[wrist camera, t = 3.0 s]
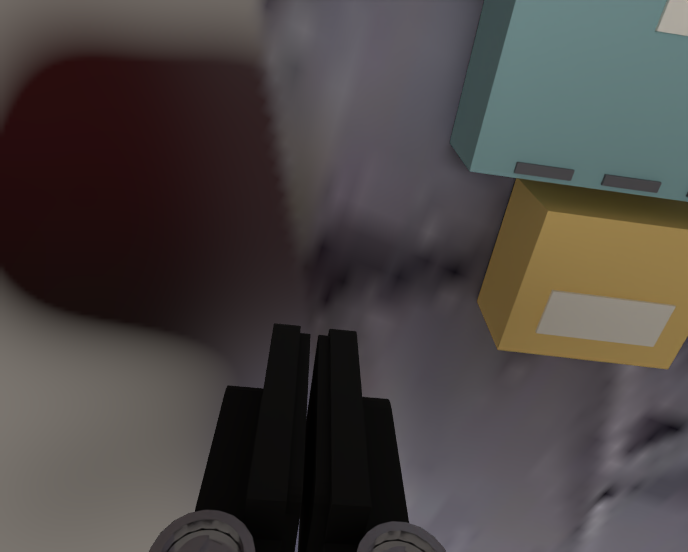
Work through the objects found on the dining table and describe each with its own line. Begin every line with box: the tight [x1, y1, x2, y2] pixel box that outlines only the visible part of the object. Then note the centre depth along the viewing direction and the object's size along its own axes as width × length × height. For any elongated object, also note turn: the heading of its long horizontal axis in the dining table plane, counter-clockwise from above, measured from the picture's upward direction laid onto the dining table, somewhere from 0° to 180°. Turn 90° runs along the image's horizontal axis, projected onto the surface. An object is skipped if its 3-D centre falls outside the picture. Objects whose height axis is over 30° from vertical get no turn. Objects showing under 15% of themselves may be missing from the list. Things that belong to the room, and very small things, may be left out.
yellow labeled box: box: [477, 178, 688, 369], centre depth 17 cm, size 6×5×3 cm
